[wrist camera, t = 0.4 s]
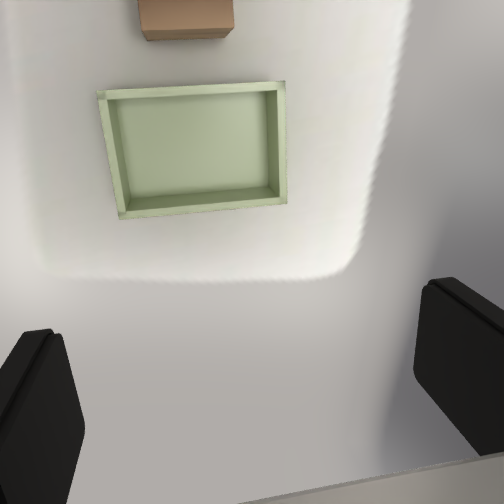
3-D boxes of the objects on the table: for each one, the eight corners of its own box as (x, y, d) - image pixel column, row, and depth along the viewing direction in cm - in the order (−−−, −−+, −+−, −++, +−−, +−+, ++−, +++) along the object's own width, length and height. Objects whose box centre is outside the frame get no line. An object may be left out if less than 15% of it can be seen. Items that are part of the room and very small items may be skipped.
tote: (107, 90, 33) (96, 90, 28) (270, 81, 34) (284, 80, 30) (126, 203, 36) (119, 219, 31) (273, 189, 38) (287, 203, 33)
